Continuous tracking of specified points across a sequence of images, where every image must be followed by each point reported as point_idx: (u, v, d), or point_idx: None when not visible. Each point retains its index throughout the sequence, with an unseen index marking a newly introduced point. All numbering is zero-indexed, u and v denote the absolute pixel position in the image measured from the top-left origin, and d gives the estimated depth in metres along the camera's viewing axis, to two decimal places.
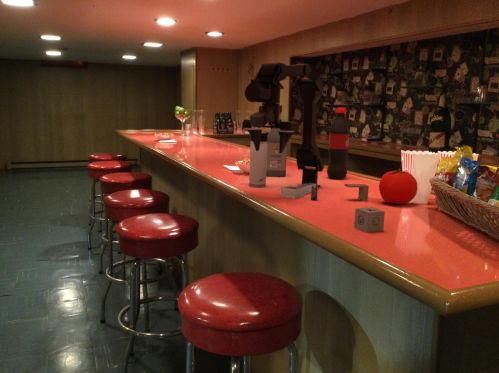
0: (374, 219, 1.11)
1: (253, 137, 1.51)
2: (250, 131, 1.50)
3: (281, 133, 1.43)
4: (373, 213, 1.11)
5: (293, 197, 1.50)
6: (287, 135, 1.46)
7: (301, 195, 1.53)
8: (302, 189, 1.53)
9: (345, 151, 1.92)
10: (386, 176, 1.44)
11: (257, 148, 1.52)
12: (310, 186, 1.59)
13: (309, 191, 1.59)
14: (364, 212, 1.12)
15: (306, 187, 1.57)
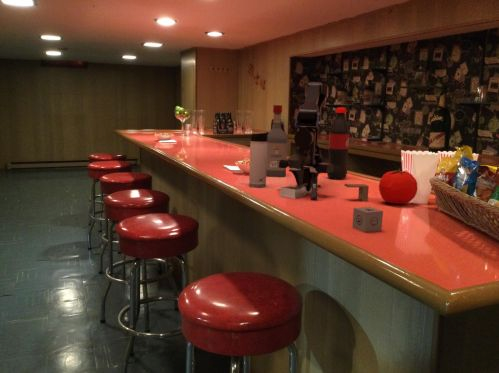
0: (372, 219, 1.11)
1: (296, 177, 1.59)
2: (294, 172, 1.58)
3: (309, 174, 1.54)
4: (371, 213, 1.11)
5: (293, 197, 1.50)
6: (314, 175, 1.57)
7: (301, 195, 1.53)
8: (302, 189, 1.53)
9: (345, 151, 1.92)
10: (386, 176, 1.44)
11: None
12: None
13: (309, 191, 1.59)
14: (362, 212, 1.12)
15: (306, 187, 1.57)
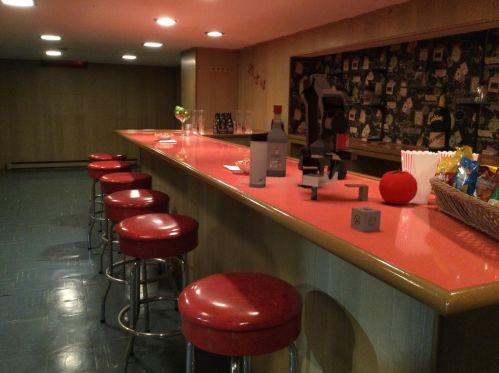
0: (370, 219, 1.12)
1: (318, 165, 1.54)
2: (316, 159, 1.53)
3: (332, 161, 1.49)
4: (369, 213, 1.11)
5: (316, 185, 1.44)
6: (337, 162, 1.52)
7: (324, 183, 1.47)
8: (325, 177, 1.47)
9: None
10: (386, 176, 1.44)
11: None
12: None
13: (331, 179, 1.54)
14: (360, 212, 1.12)
15: (328, 175, 1.52)
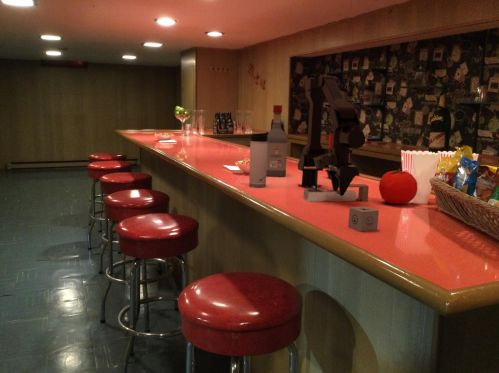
0: (368, 218, 1.12)
1: (331, 178, 1.53)
2: (327, 172, 1.52)
3: (336, 176, 1.44)
4: (367, 212, 1.11)
5: (307, 199, 1.46)
6: (347, 178, 1.45)
7: (320, 199, 1.46)
8: (322, 193, 1.46)
9: None
10: (386, 176, 1.44)
11: (334, 189, 1.52)
12: None
13: (342, 198, 1.49)
14: (358, 211, 1.12)
15: (336, 193, 1.48)
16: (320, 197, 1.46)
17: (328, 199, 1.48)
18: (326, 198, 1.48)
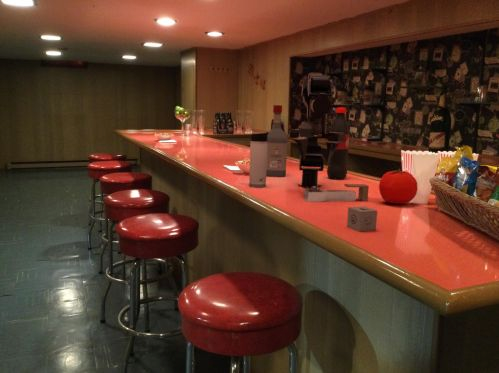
0: (367, 218, 1.12)
1: (300, 146, 1.57)
2: (297, 141, 1.56)
3: (329, 144, 1.49)
4: (366, 212, 1.12)
5: (307, 199, 1.46)
6: (334, 145, 1.52)
7: (320, 199, 1.46)
8: (322, 193, 1.46)
9: (345, 151, 1.92)
10: (386, 176, 1.44)
11: (303, 157, 1.58)
12: (344, 193, 1.49)
13: (342, 198, 1.49)
14: (357, 211, 1.12)
15: (336, 193, 1.48)
16: (320, 197, 1.46)
17: (328, 199, 1.48)
18: (326, 198, 1.48)
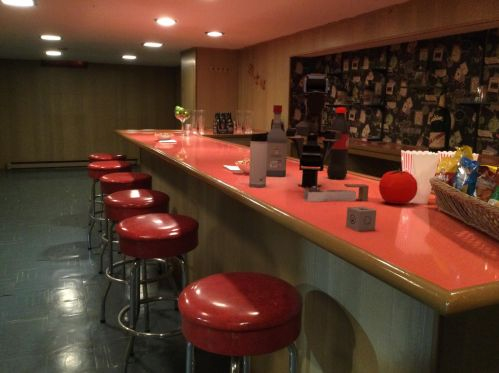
0: (366, 218, 1.12)
1: (296, 145, 1.58)
2: (294, 139, 1.57)
3: (325, 142, 1.50)
4: (365, 212, 1.12)
5: (307, 199, 1.46)
6: (330, 143, 1.53)
7: (320, 199, 1.46)
8: (322, 193, 1.46)
9: (345, 151, 1.92)
10: (386, 176, 1.44)
11: (300, 155, 1.59)
12: (344, 193, 1.49)
13: (342, 198, 1.49)
14: (356, 211, 1.12)
15: (336, 193, 1.48)
16: (320, 197, 1.46)
17: (328, 199, 1.48)
18: (326, 198, 1.48)
